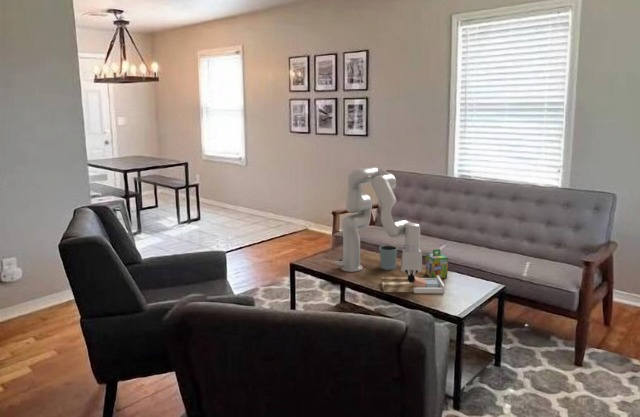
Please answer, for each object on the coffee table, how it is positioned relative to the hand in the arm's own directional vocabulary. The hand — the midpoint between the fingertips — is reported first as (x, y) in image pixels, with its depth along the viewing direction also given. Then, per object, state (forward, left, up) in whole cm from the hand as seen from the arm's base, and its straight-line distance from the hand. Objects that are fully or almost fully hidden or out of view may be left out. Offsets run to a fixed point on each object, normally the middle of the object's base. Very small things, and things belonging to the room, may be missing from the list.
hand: (410, 281), depth 259 cm
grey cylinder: (-8, +32, -3) cm, 33 cm away
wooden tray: (-7, 0, -3) cm, 8 cm away
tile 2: (+11, 0, -3) cm, 11 cm away
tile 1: (+4, 0, -2) cm, 4 cm away
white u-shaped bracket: (+8, 0, -3) cm, 9 cm away
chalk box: (+17, +18, -3) cm, 25 cm away
